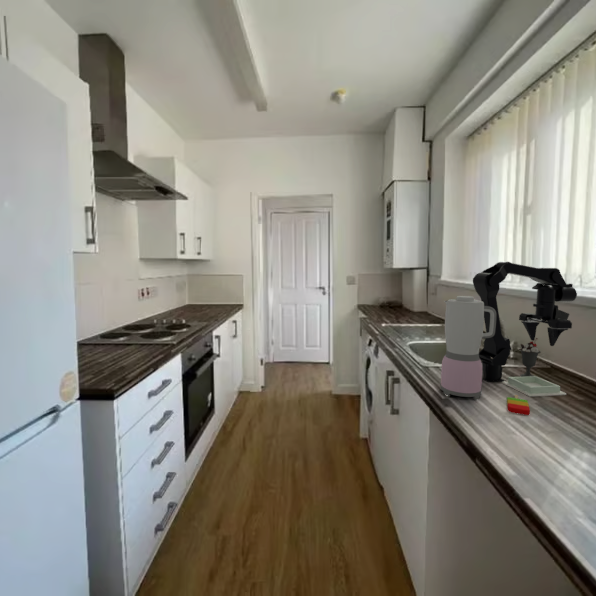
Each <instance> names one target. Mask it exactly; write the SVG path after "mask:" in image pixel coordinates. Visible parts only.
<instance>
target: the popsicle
mask: <svg viewBox="0 0 596 596" xmlns="http://www.w3.org/2000/svg"><path fill="white" fill-rule="evenodd" d="M529 405H530V404H529V401H528V400H527V399H522V398H519V395H518V394H514V397H512V396H511V397H509V396H508V397H506V406H507V407H506V408H507V412H509V413H511V414H512V413H513V414H517V413H518V415H523V414H524V415H523V416H530V415H529V414H531V410H530V406H529Z"/></svg>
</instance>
